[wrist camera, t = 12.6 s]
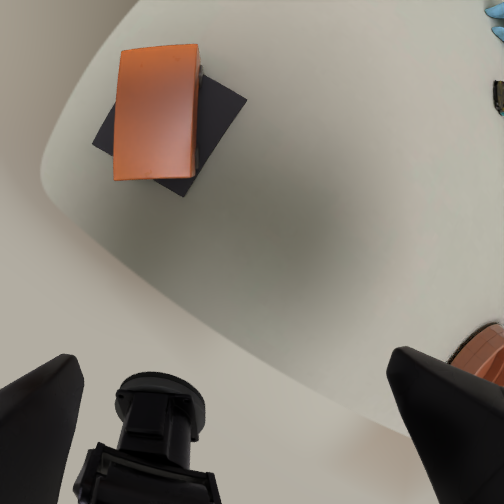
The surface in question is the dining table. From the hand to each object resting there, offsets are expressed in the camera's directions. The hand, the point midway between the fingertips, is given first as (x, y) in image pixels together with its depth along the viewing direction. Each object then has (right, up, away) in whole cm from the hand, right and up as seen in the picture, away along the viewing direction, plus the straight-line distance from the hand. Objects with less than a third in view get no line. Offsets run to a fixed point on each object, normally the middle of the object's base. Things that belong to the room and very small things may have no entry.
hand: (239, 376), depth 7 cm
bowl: (+28, -11, +19) cm, 36 cm away
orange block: (-5, +11, +8) cm, 15 cm away
